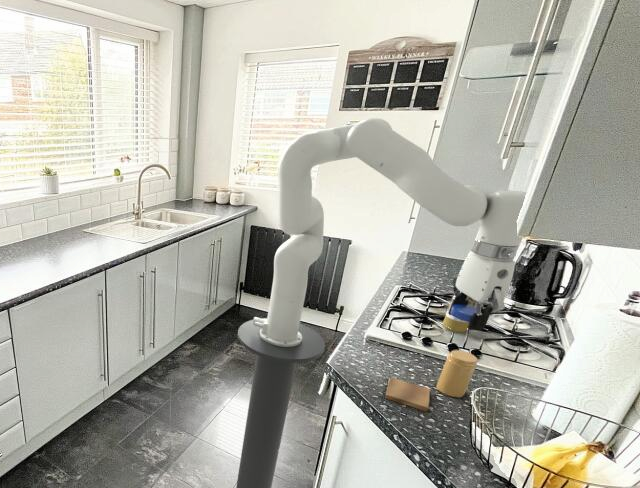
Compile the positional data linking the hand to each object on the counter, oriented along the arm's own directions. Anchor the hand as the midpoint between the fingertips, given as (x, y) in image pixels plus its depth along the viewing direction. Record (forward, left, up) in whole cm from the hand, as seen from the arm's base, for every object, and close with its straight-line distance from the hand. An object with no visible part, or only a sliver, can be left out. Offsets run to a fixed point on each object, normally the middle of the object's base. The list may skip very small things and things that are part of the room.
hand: (465, 321), depth 99 cm
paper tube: (+4, +43, -21) cm, 48 cm away
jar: (+3, +2, -20) cm, 21 cm away
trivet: (-6, -7, -20) cm, 22 cm away
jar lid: (0, 0, +3) cm, 3 cm away
